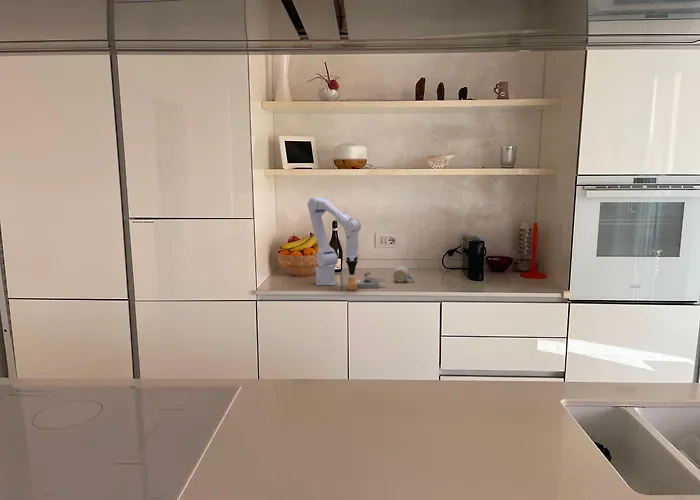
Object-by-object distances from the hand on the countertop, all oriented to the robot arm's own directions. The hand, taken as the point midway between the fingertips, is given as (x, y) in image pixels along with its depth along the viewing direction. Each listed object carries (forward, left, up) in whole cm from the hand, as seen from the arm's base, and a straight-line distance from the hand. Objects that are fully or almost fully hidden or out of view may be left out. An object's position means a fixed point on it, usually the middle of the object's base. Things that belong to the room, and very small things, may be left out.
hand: (351, 273), depth 247 cm
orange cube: (0, 0, -7) cm, 7 cm away
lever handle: (+11, +6, -5) cm, 14 cm away
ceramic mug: (+27, +18, -8) cm, 33 cm away
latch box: (+6, +7, -8) cm, 12 cm away
